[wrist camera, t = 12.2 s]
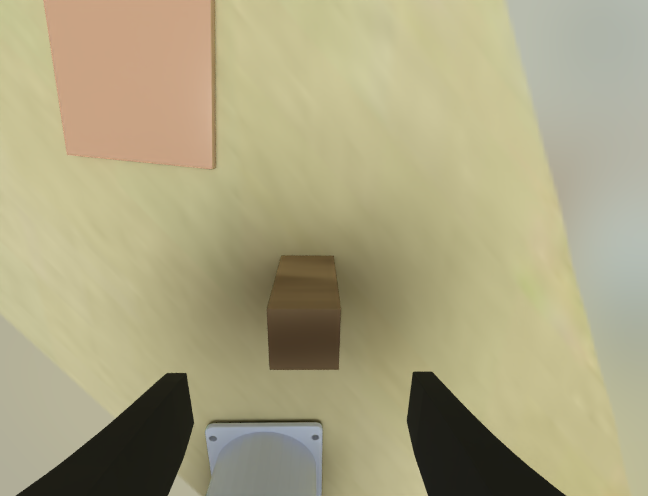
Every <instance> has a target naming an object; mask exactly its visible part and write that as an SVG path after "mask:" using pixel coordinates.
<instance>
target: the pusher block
mask: <svg viewBox="0 0 648 496" xmlns="http://www.w3.org/2000/svg"><path fill="white" fill-rule="evenodd" d="M340 321H341V306H340V299H339V291H338V284H337V277H336V270H335V263H334V256H281V258H280V262H279V266H278V269H277V273H276V277H275V281H274V284H273V288H272V292H271V295H270V299H269V303H268V306H267V324H268V345H269V366H270V370H339V348H340Z"/></svg>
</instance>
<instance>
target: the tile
mask: <svg viewBox="0 0 648 496" xmlns="http://www.w3.org/2000/svg"><path fill="white" fill-rule="evenodd" d="M43 1H44V7H45V14H46V20H47V27H48V33H49V40H50V46H51V53H52V59H53V66H54V73H55V79H56V86H57V92H58V99H59V105H60V112H61V118H62V125H63V131H64V138H65V145H66V151H67V155H74V156H84V157H95V158H105V159H115V160H125V161H135V162H145V163H155V164H165V165H176V166H186V167H196V168H206V169H214V168H216V132H215V0H43Z"/></svg>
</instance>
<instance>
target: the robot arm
mask: <svg viewBox="0 0 648 496" xmlns="http://www.w3.org/2000/svg"><path fill="white" fill-rule="evenodd" d="M407 424H408V429H409V433H410V438H411V442H412V447H413V451H414V455H415V458H416V461H417V464H418V467H419V470H420V473H421V476H422V479H423V482H424V485H425V488H426V491H427V494H428V496H566V495H564V494H563V493H562V492H560V491H559V490H558V489H557V488H555V487H554V486H553V485H551V484H550V483H549V482H548V481H547V480H545V479H544V478H543V477H542V476H540V475H539V474H538V473H537V472H535V471H534V470H533V469H532V468H530V467H529V466H528V465H527V464H526V463H524V462H523V461H522V460H521V459H520V458H519V457H517V456H516V455H515V454H514V453H513V452H512V451H511V450H510V449H509V448H507V447H506V446H505V445H504V444H503V443H502V442H501V441H500V440H499V439H498V438H496V437H495V436H494V435H493V434H492V433H491V432H490V431H489V430H488V429H487V428H486V427H485V426H484V425H483V424H482V423H481V422H480V421H479V420H478V419H477V418H476V417H475V416H474V415H473V414H472V413H471V412H470V411H469V410H468V409H467V408H466V407H465V406H464V405H463V404H462V403H461V402H460V401H459V400H458V399H457V398H456V397H455V396H454V394H453V393H452V392H451V391H450V390H449V389H448V388H447V387H446V386H445V385H444V384H443V383H442V382H441V381H440V380H439V379H438V378H437V376H436V375H435V374H434V373H433V372H413V376H412V384H411V392H410V399H409V407H408V415H407ZM193 425H194V419H193V413H192V406H191V400H190V394H189V387H188V381H187V374H186V373H167V374H165V375H164V376H163V377H162V378H161V379H160V380H158V381H157V382H156V383H155V384H154V385H153V386H152V387H151V388H150V389H148V390H147V391H146V392H145V393H144V394H143V395H142V396H141V397H139V398H138V399H137V400H136V401H135V402H134V403H133V404H132V405H131V406H129V407H128V408H127V409H126V410H125V411H124V412H123V413H121V414H120V415H119V416H118V417H117V418H116V419H115V420H113V421H112V422H111V423H110V424H109V425H108V426H107V427H105V428H104V429H103V430H102V431H100V432H99V433H98V434H97V435H95V436H94V437H93V438H92V439H91V440H89V441H88V442H87V443H86V444H84V445H83V446H82V447H81V448H79V449H78V450H77V451H76V452H75V453H73V454H72V455H71V456H70V457H68V458H67V459H66V460H64V461H63V462H62V463H60V464H59V465H58V466H57V467H55V468H54V469H52V470H51V471H50V472H48V473H47V474H46V475H44V476H43V477H42V478H40V479H39V480H38V481H36V482H34V483H33V484H32V485H30V486H29V487H28V488H26V489H25V490H23V491H22V492H20V493H19V494H17V495H16V496H168V494H169V492H170V489H171V487H172V485H173V482H174V480H175V477H176V475H177V473H178V470H179V468H180V465H181V463H182V461H183V458H184V455H185V452H186V449H187V445H188V442H189V439H190V435H191V432H192V428H193ZM205 435H206V442H207V449H208V456H209V463H210V470H211V480H210V484H209V487H208V490H207V494H206V496H321V495H322V425H321V424H320V423H317V422H284V423H212V424H209V425H208V426H207V427H206V430H205Z"/></svg>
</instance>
